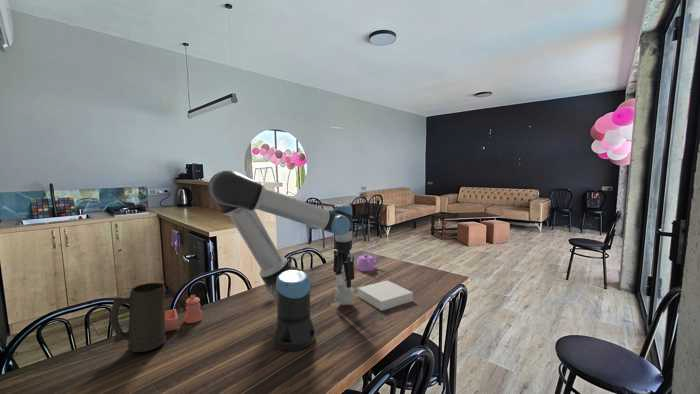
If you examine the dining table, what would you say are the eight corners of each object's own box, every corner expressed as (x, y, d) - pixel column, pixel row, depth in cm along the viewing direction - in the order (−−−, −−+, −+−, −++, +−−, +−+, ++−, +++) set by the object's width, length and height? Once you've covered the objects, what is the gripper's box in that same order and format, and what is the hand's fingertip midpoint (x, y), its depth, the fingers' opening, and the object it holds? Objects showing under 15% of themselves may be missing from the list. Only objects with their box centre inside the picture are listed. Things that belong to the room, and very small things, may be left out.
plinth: (381, 310, 125) (381, 301, 124) (357, 296, 140) (357, 287, 140) (412, 300, 134) (412, 292, 134) (387, 288, 149) (387, 280, 149)
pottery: (148, 336, 105) (147, 308, 105) (148, 325, 113) (147, 300, 112) (204, 322, 115) (203, 297, 115) (200, 313, 123) (200, 290, 123)
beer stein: (161, 332, 109) (158, 279, 107) (173, 342, 102) (170, 285, 101) (108, 351, 97) (104, 292, 95) (118, 364, 90) (114, 301, 89)
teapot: (360, 275, 169) (360, 258, 168) (354, 268, 182) (354, 252, 181) (385, 273, 172) (385, 256, 171) (377, 266, 185) (377, 251, 184)
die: (332, 303, 132) (331, 281, 132) (350, 300, 135) (350, 278, 135) (337, 311, 124) (337, 288, 124) (357, 308, 127) (357, 285, 127)
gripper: (363, 243, 123) (362, 297, 124) (339, 235, 139) (339, 283, 141) (348, 245, 119) (347, 301, 120) (325, 236, 135) (325, 286, 137)
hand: (343, 291), depth 131 cm, fingers open, 7 cm apart
